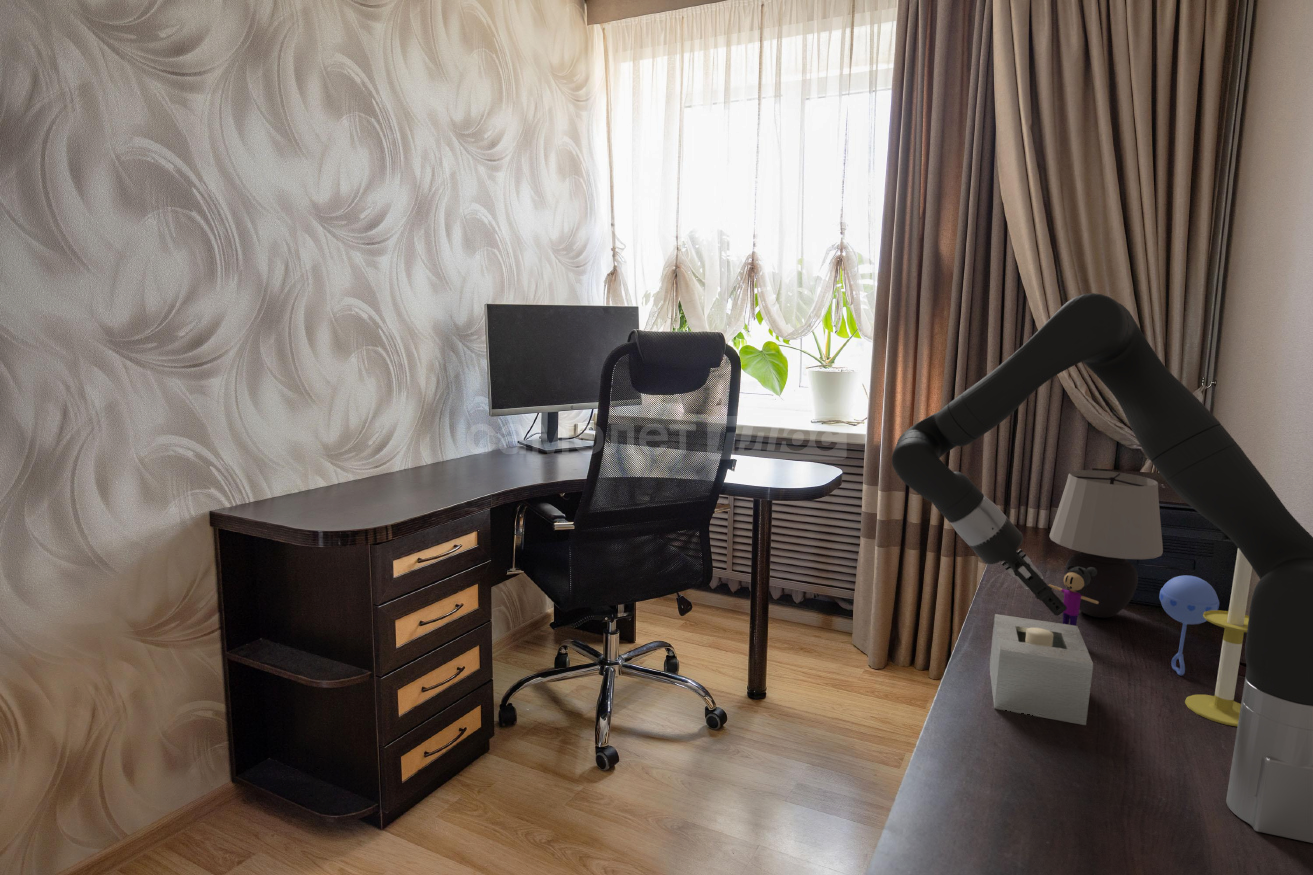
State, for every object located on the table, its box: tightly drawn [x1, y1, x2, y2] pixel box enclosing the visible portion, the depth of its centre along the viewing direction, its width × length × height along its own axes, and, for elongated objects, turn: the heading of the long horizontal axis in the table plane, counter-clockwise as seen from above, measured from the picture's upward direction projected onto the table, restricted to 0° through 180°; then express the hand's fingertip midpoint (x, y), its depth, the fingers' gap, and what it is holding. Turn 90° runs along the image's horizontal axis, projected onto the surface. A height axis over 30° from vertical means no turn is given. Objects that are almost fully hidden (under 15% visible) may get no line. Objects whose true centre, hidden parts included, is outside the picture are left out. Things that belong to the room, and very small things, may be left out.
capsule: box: [1025, 628, 1053, 647], centre depth 128 cm, size 4×4×10 cm
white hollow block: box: [989, 613, 1094, 726], centre depth 128 cm, size 16×13×10 cm
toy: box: [1047, 565, 1099, 626], centre depth 151 cm, size 10×6×15 cm, turn 27°
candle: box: [1184, 547, 1253, 727], centre depth 123 cm, size 10×10×32 cm
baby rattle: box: [1158, 575, 1220, 676], centre depth 137 cm, size 9×9×18 cm
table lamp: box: [1049, 469, 1164, 619], centre depth 163 cm, size 21×21×30 cm
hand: (1053, 602), depth 126 cm, fingers open, 8 cm apart
